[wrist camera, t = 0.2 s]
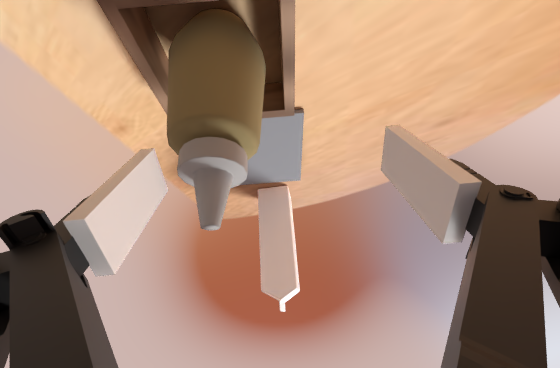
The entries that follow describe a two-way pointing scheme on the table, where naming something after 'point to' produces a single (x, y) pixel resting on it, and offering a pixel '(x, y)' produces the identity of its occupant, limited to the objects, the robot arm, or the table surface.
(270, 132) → the slate mat
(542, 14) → the table surface
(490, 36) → the table surface
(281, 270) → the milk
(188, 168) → the squeeze bottle
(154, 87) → the walnut tray
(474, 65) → the table surface
